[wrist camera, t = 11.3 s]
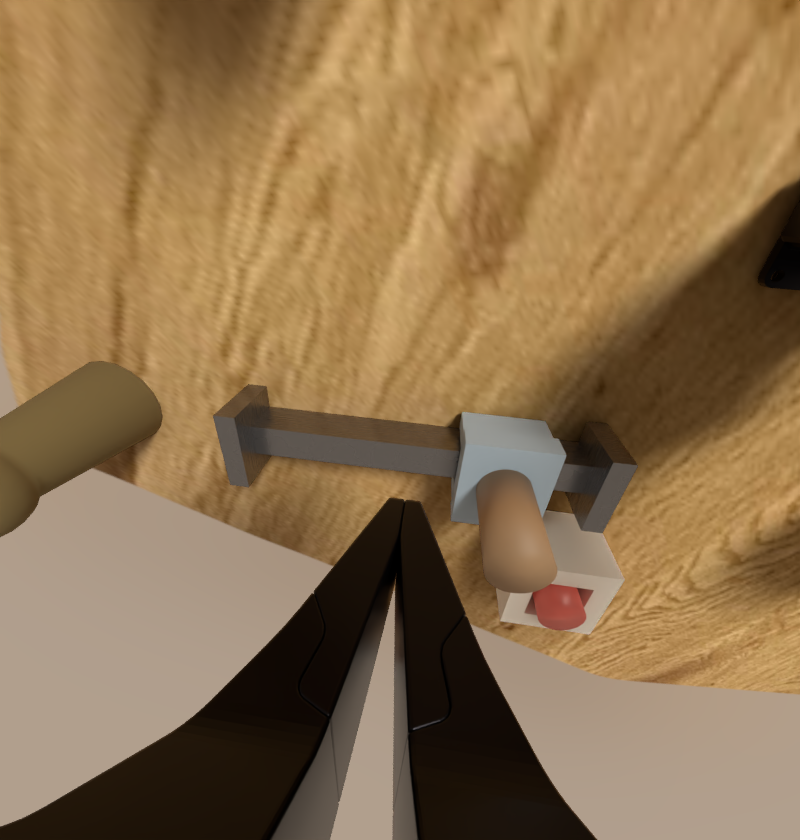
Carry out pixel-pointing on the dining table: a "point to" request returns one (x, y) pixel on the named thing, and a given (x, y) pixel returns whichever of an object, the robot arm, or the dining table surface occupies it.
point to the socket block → (570, 573)
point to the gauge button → (559, 607)
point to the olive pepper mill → (70, 434)
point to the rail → (406, 450)
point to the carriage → (508, 496)
